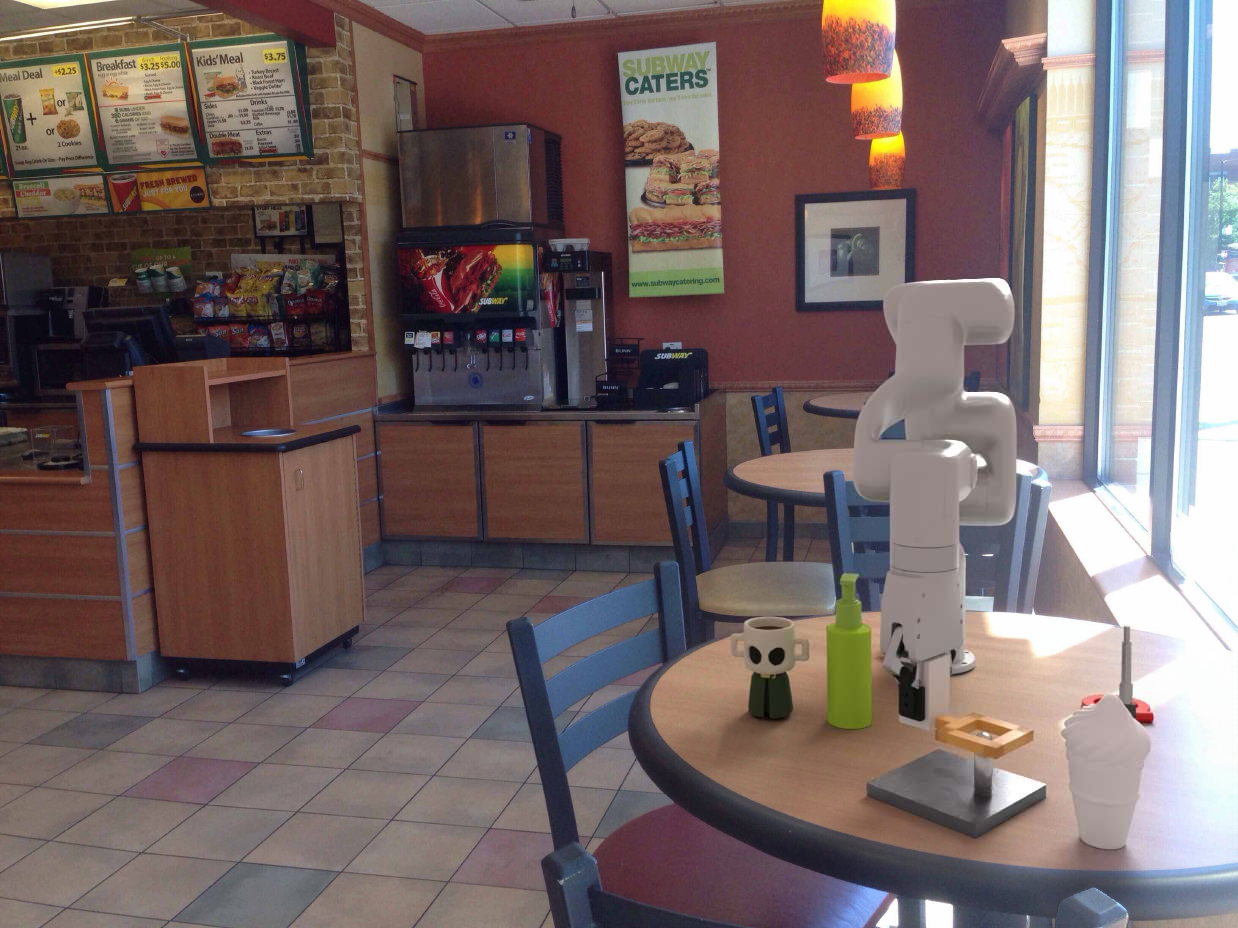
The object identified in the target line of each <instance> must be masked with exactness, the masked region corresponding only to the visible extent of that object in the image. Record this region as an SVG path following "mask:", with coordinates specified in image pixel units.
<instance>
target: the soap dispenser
mask: <svg viewBox="0 0 1238 928" xmlns="http://www.w3.org/2000/svg"><path fill="white" fill-rule="evenodd" d="M859 575H860V574H859V573H848V572H847V573H845V572H844V573H842V575H841V577H840V579H839V585H840V586H841V598H840V599H837V600H836V601H835V622H833V623H829V624H828V625H826V628H825V629H826V635H825V636H826V697H827V698H826V699H827V700H826V701H827V702H826V705H827V715H826V716H827V722H828V723H829V724H830V725H832V726H833V727H836V728H840V729H845V730H858V729H864V728H867V727H869V726H870V725H872V721H873V718H872V716H873V715H872V713H873V711H872V709H873V707H872V706H873V701H872V697H873V696H872V690H873V689H872V679H873V678H872V627H871V626H870V625H868V624H866V623H862V622H863V621H862V619H863V618H862V602H861V601H860V600H858V599H857V598H856V588H855V587H856V582H857V579H858V578H859V577H860V576H859Z"/></svg>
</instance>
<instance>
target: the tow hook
mask: <svg viewBox="0 0 1238 928" xmlns="http://www.w3.org/2000/svg"><path fill="white" fill-rule="evenodd" d="M1132 645H1133V644H1132V641H1131V626H1130V625H1123V640H1122V641H1121V661H1120V663H1121V669H1120V670H1121V673H1120V674H1121V675H1120V683H1119V691H1118V694H1114V695H1115V696H1117V697H1118V698H1119V699H1120V700H1121V701H1122V702H1123V704H1124V705H1125V707H1126V708H1127V709H1128V711H1129V712H1130V714H1131V715H1132V717H1133V718H1134V719H1135V720H1137V721H1138V722H1139V723H1153V722H1154V718H1155V717H1154V713H1153V711H1151V706H1150V705H1149V704H1148V703H1147V702H1146V701H1143V700H1142V699H1139V698H1135V697H1133V688H1134V684H1133V683H1132V655H1133V654H1132ZM1105 694H1106V693H1105ZM1105 694H1104V693H1103V694H1092V695H1088V696H1084V698H1083V699H1081V708H1082V707H1083V706H1089V705H1090V704H1096V703H1098V702H1099V701H1100V699H1101V698H1102V697H1103V696H1104V695H1105Z"/></svg>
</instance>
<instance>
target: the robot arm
mask: <svg viewBox="0 0 1238 928" xmlns="http://www.w3.org/2000/svg"><path fill="white" fill-rule="evenodd" d="M1013 296H1014V295H1013V294H1012V290H1011V288H1010V287H1009V284H1008V283H1007V282H1006V281H1005V280H1004V279H1001V278H977V279H956V280H955V279H953V280H951V279H947V280H942V279H941V280H928V281H927V280H923V281H915V282H914V281H913V282H907V283H902V284H901V283H900V284H897V285H894V286H893V287H891V288H889V290H887V291H886V292H885V295H884V297H883V303H882V304H883V305H882V307H883V314H884V320H885V322H886V326H887V329H888V331H889V333H890V335H891V336H892V339H893V341H894V344H895V345H896V346H895V348H896V350H895V361H894V362H895V365H894V366H895V369H894V372H895V373H894V374H893V375H892V376H890V378H888V379H887V380H885V381H884V382H883V383H882V384H881V385H879V387H878V388H877V389H876V390H875V391H874V392H873V393H872V395H870V397H869V398H868V400H866V402H865V404H864V405H863V407H862V408H861V410H860V412H859V415H858V418H857V421H856V425H855V431H854V441H853V451H852V452H853V453H852V482H853V486H854V489H855V490H856V492H857V494H859V496H860V497H862V498H863V499H865V500H866V501H867V500H868V501H870V502H878V503H880V502H882V503H889V570H890V571H887V572H886V577H885V581H884V586H883V591H882V592H883V593H882V600H881V613H880V615H881V616H880V629H879V630H880V632H879V634H880V635H879V636H880V637H879V646H880V647H879V648H880V652H881V654H882V655H884V658H883V661H882V668H883V669H885V670H886V671H887V672H889V673H891V675H892V676H893V677H894V681H895V683H896V684H898V714H900V715H901V716H903V717H906V718H909V719H913V720H916V721H919V722H921V721H923V720H925V687H922V686H921V683H922V674H923V665H924V660H927V659H930V658H932V657H935V656H938V655H940V654H943V653H945V654H949V655H950V676H952V675H955V674H961V673H965V672H969V671H970V670H972V669H973V668H975V666H976V661H977V660H976V656H975V655H974V654H973V653H972V652H971V651H969V650H967V649H966V567H967V566H966V565H967V564H966V563H967V559H966V553H965V550H964V547H963V545H962V544H961V542H960V526H981V527H982V526H985V527H987V526H988V527H989V526H990V527H992V526H993V527H994V526H996V527H997V526H1002V525H1006V524H1007V523H1009V522H1010V521H1011V520H1012V519H1013V517H1014V514H1015V511H1016V506H1017V453H1018V452H1017V450H1018V449H1017V444H1018V443H1017V442H1018V440H1017V438H1018V437H1017V434H1018V433H1017V430H1018V429H1017V416H1016V410H1015V406H1014V405H1013V404H1014V403H1013V402H1012V401H1011V399H1010V397H1008V396H1007V395H1005V394H1003V393H1000V392H993V391H992V392H991V391H983V392H982V391H978V392H977V391H976V392H975V391H974V392H973V391H971V392H968V391H965V389H964V381H965V346H971V345H972V346H976V345H980V346H981V345H1001V344H1004V343H1006V342H1007V341H1009V338H1010V337H1011V334H1012V333H1013V329H1014V325H1015V301H1014V297H1013ZM903 420H904V430H905V431H904V432H905V439H893V438H892V439H880V437H881V435H882V434H883V433H884V432H885V431H886V430H888V429H889V428H890V427H892V426H893V425H895V424H897V423H898V422H901V421H903ZM977 457H981V459H983V461H984V462H978V460H977ZM907 652H908V653H909V656H907ZM907 663H908V664H912V665H913V673H912V672H911V670H910V669H909V668H908V667H906V666H907Z"/></svg>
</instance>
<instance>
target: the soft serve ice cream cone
mask: <svg viewBox="0 0 1238 928" xmlns="http://www.w3.org/2000/svg"><path fill="white" fill-rule="evenodd" d="M1115 695H1116V694H1113V693H1110V692H1106V693H1105V695H1104V696H1103V697H1102V698H1101V699H1100V701H1099V702H1098V703H1096V704H1090V705H1089V706H1083V707H1082V706H1081V709H1077V710H1075V711H1074V712H1073V713H1072V716H1070V717H1068V718H1067V719H1065V720H1064V723H1063V725H1064V727H1065V728H1063V729H1061V732H1060V735H1061V737H1062V738H1063V739H1064V746H1065V747H1066V753H1065V755H1066V756H1065V757H1066V759H1067V761H1068V773H1069V774H1068V775H1069V781H1068V788H1069V791H1070V792H1071V798H1072V801H1073V809H1074V813H1075V816H1076V822H1077V827H1078V834H1079V837H1080V839H1081V841H1082V842H1084V844H1087V845H1089V846H1090V847H1094V848H1097V849H1100V850H1101V849H1102V850H1118V849H1122V848H1123V847H1124V846H1125V845H1126V843H1127V839H1128V835H1129V831H1130V828H1131V824H1132V819H1133V816H1134V812H1135V809H1136V805H1137V801H1139V799H1140V796H1141V793H1140V784H1141V777H1142V770H1143V769H1144V767H1145V760H1146V758H1148V756H1149V754H1150V751H1151V747H1152V741H1151V738H1150V735H1149V733H1148V731H1147V729H1146V728H1145V727H1144V726H1143V725H1142V724H1141V722H1138V721H1137V720H1135V719H1134V718H1133V717H1132V715H1131V714H1130V712H1129V711H1128V709H1127V708H1126V707H1125V705H1124V704H1123V702H1122V701H1121V700H1120V699H1119V698H1118V697H1117V696H1115Z"/></svg>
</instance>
